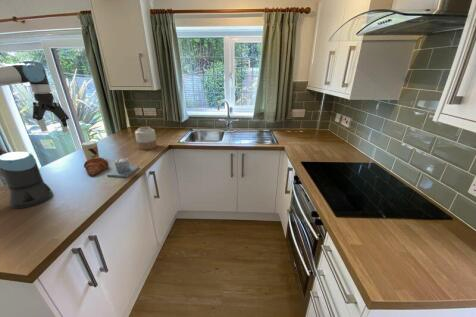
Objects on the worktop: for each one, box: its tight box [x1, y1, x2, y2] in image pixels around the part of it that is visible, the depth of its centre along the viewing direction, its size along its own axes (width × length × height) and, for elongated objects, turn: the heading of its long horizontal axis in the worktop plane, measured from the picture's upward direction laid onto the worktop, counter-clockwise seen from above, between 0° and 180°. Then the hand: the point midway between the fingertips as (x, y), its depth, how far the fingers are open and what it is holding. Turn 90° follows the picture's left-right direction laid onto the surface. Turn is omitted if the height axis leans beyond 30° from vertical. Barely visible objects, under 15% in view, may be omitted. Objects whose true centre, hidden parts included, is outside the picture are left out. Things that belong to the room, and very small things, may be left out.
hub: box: [114, 157, 131, 173], centre depth 128 cm, size 7×7×7 cm
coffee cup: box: [80, 140, 100, 161], centre depth 148 cm, size 9×9×12 cm
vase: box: [134, 126, 158, 151], centre depth 173 cm, size 15×15×17 cm
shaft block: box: [106, 158, 140, 179], centre depth 128 cm, size 14×12×8 cm
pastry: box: [83, 157, 110, 177], centre depth 132 cm, size 17×15×8 cm
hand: (55, 131), depth 117 cm, fingers open, 13 cm apart
